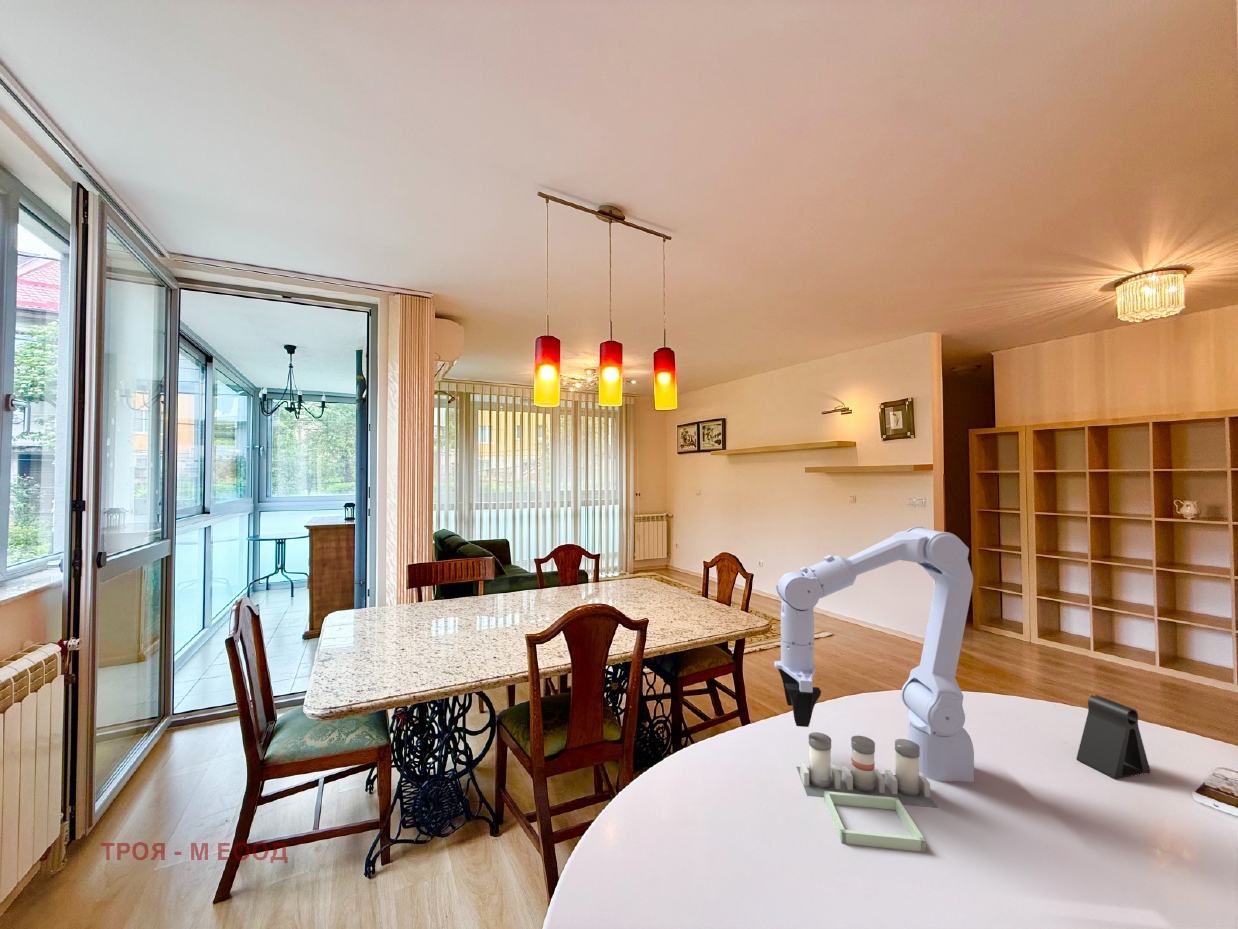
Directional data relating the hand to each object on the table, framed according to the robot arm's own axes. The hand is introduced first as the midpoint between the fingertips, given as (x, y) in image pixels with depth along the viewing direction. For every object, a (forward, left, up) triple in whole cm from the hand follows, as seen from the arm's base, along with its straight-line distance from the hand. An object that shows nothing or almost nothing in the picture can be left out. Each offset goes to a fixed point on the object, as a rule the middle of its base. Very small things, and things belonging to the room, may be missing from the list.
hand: (797, 715), depth 90 cm
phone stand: (-59, -10, -10) cm, 60 cm away
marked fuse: (-10, +5, -9) cm, 14 cm away
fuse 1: (-3, +5, -9) cm, 10 cm away
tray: (-8, +14, -10) cm, 19 cm away
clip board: (-10, +5, -10) cm, 15 cm away
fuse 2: (-17, +5, -9) cm, 19 cm away
